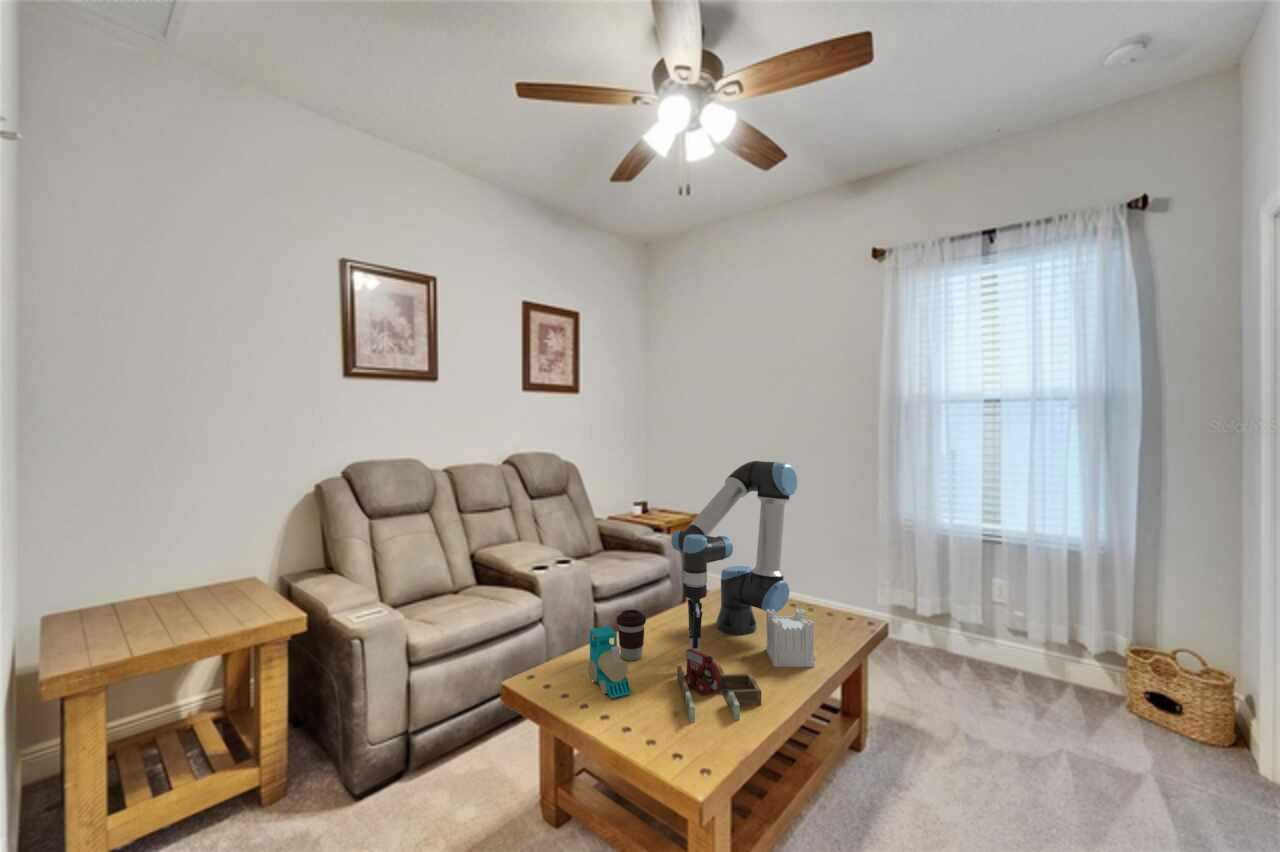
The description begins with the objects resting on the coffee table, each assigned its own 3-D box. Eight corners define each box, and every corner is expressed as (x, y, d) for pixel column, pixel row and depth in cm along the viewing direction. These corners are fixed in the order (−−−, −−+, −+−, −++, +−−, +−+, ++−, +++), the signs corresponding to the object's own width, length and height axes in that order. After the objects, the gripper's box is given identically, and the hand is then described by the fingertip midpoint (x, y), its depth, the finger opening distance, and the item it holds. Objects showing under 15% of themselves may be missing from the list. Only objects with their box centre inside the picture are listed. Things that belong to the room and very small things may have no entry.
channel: (677, 678, 168) (677, 666, 168) (719, 677, 169) (719, 664, 169) (690, 722, 144) (690, 707, 144) (739, 719, 145) (739, 704, 145)
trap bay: (721, 688, 163) (720, 674, 162) (751, 686, 163) (751, 673, 163) (729, 706, 152) (729, 692, 152) (761, 704, 153) (761, 690, 153)
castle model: (766, 649, 189) (766, 608, 189) (809, 650, 189) (809, 609, 188) (774, 666, 176) (774, 623, 176) (820, 667, 176) (820, 623, 176)
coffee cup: (652, 656, 185) (651, 612, 184) (631, 666, 177) (631, 620, 177) (631, 647, 191) (630, 605, 191) (610, 657, 184) (610, 613, 184)
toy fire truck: (711, 699, 156) (711, 663, 156) (679, 684, 165) (679, 650, 165) (726, 691, 161) (726, 656, 161) (694, 676, 170) (694, 644, 170)
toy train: (609, 702, 155) (608, 650, 155) (587, 677, 170) (587, 630, 170) (633, 695, 159) (633, 644, 159) (610, 671, 174) (610, 625, 173)
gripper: (680, 578, 181) (679, 648, 181) (686, 590, 168) (686, 666, 168) (702, 577, 181) (702, 648, 181) (710, 589, 168) (710, 665, 168)
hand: (694, 656), depth 175 cm, fingers closed
